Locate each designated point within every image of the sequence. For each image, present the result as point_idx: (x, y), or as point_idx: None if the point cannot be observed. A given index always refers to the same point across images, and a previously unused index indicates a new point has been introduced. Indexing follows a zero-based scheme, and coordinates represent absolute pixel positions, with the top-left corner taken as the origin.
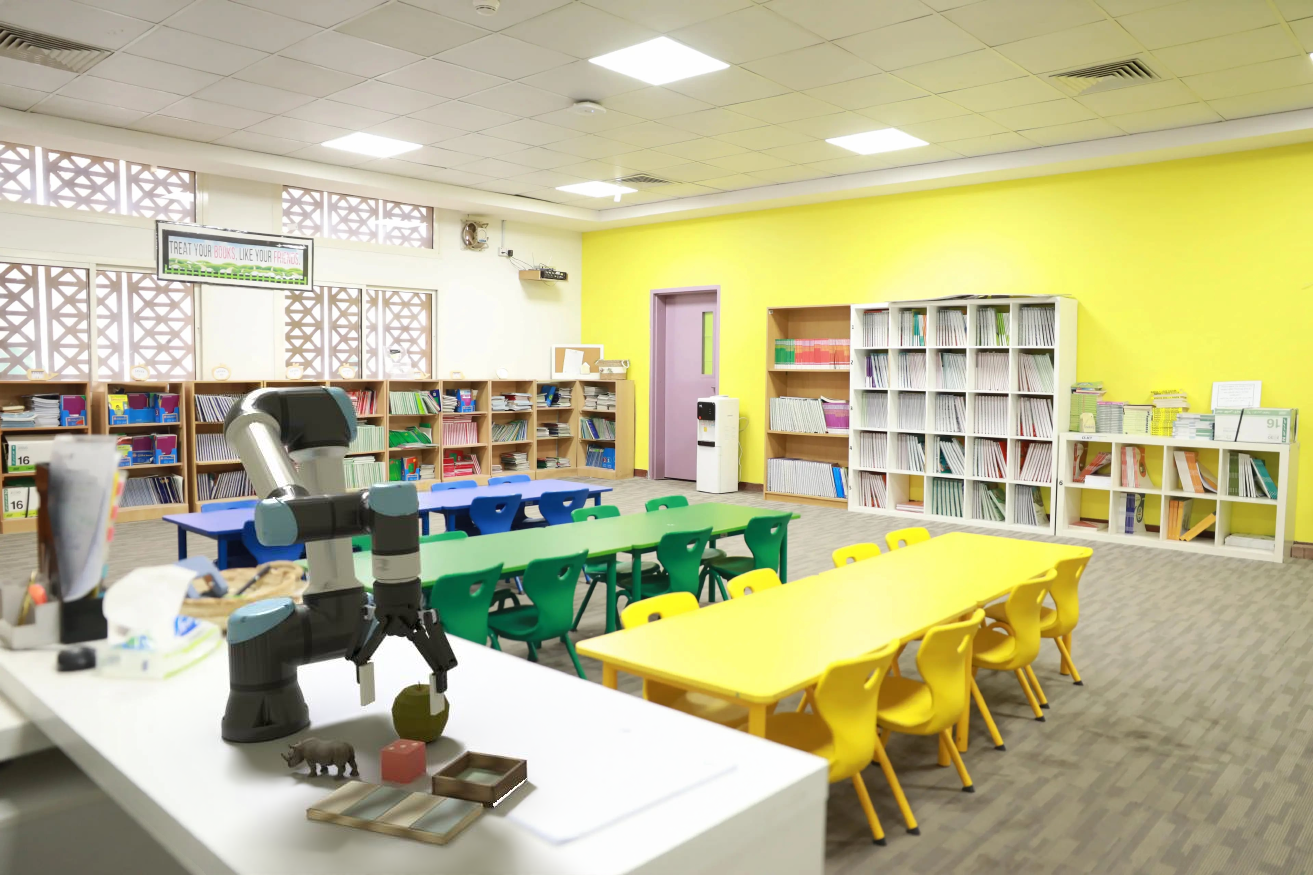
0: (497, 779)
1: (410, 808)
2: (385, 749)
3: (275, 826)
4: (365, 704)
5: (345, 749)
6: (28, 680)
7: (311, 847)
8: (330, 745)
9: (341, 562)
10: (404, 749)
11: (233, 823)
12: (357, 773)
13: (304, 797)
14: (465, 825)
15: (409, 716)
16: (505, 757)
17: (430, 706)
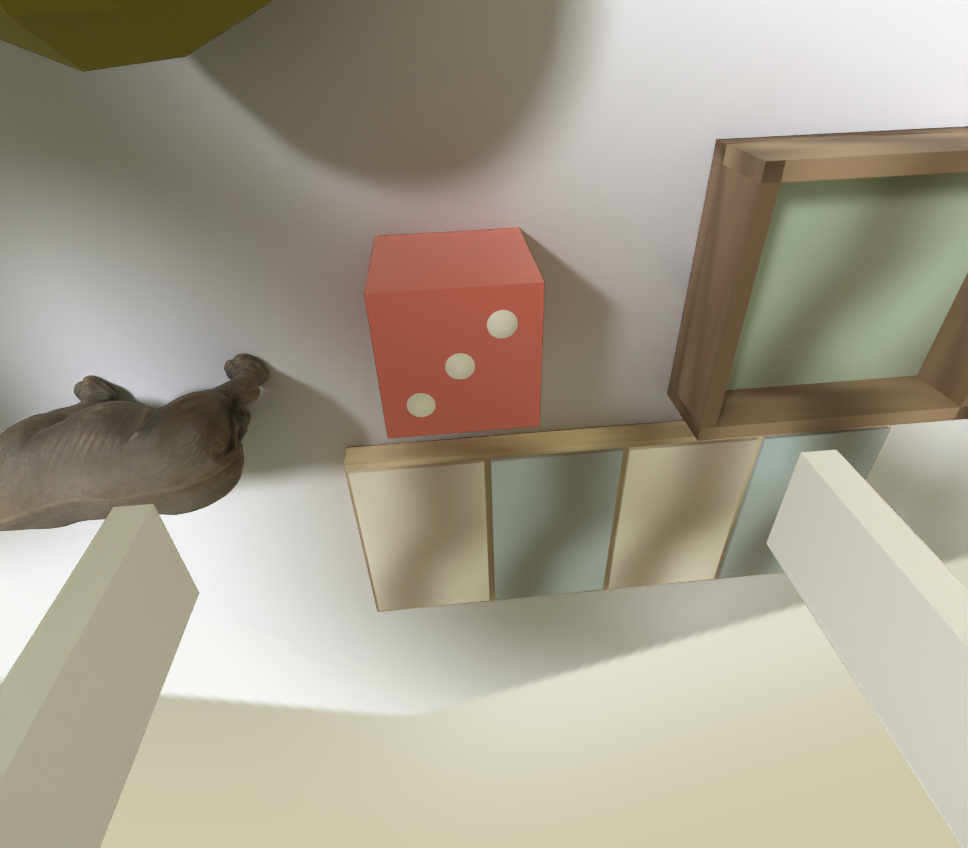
0: (911, 230)
1: (672, 521)
2: (402, 422)
3: (345, 635)
4: (193, 592)
5: (223, 487)
6: None
7: (506, 648)
8: None
9: None
10: (494, 391)
11: (235, 660)
12: (267, 376)
13: (259, 536)
14: None
15: (189, 47)
16: None
17: (797, 589)
